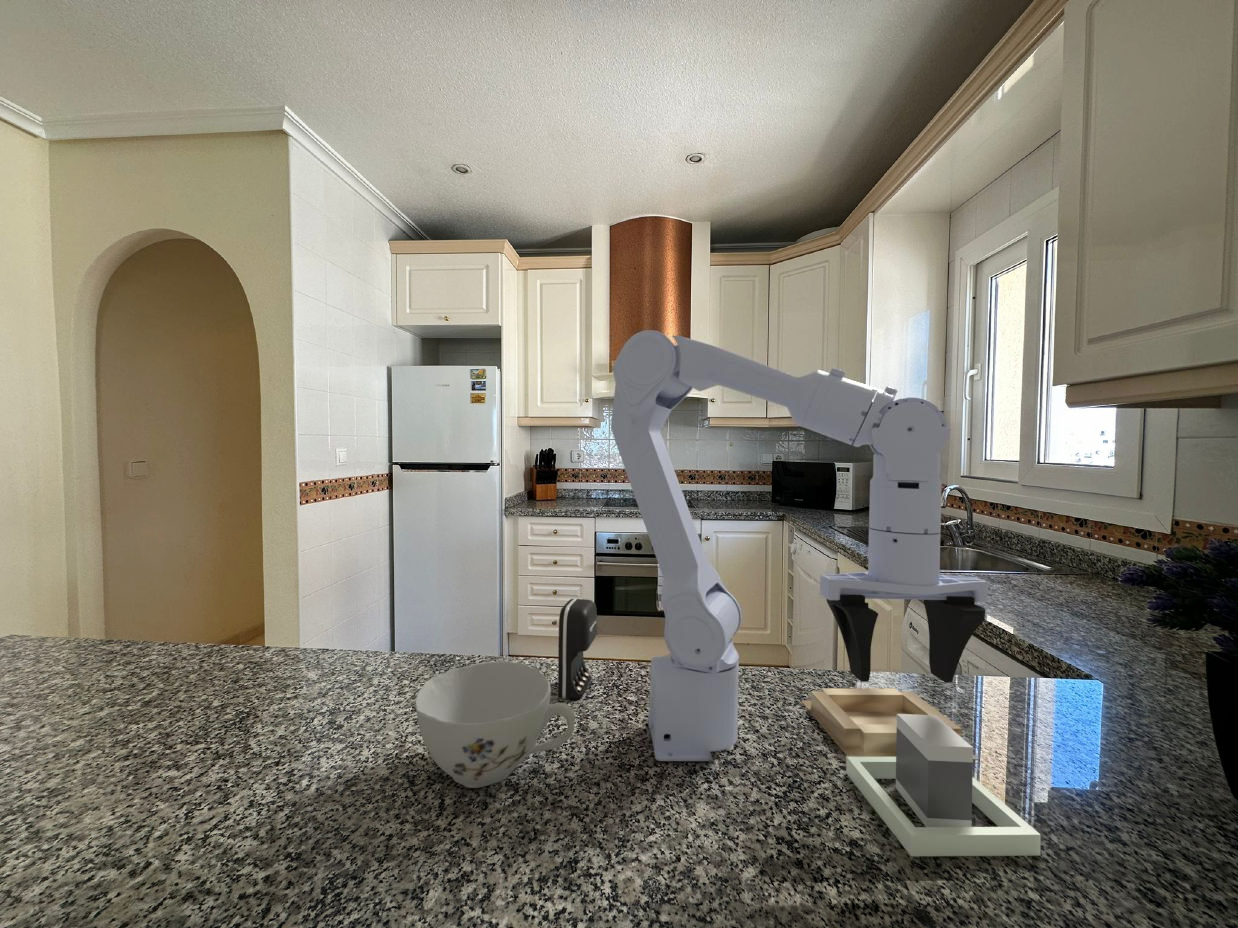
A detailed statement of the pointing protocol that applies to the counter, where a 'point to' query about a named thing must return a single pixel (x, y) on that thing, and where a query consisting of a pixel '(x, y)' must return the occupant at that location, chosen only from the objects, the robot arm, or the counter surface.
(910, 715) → the grey rectangular block
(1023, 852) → the tray
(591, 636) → the black battery charger
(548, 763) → the counter surface
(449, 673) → the teacup
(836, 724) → the tray
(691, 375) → the robot arm
